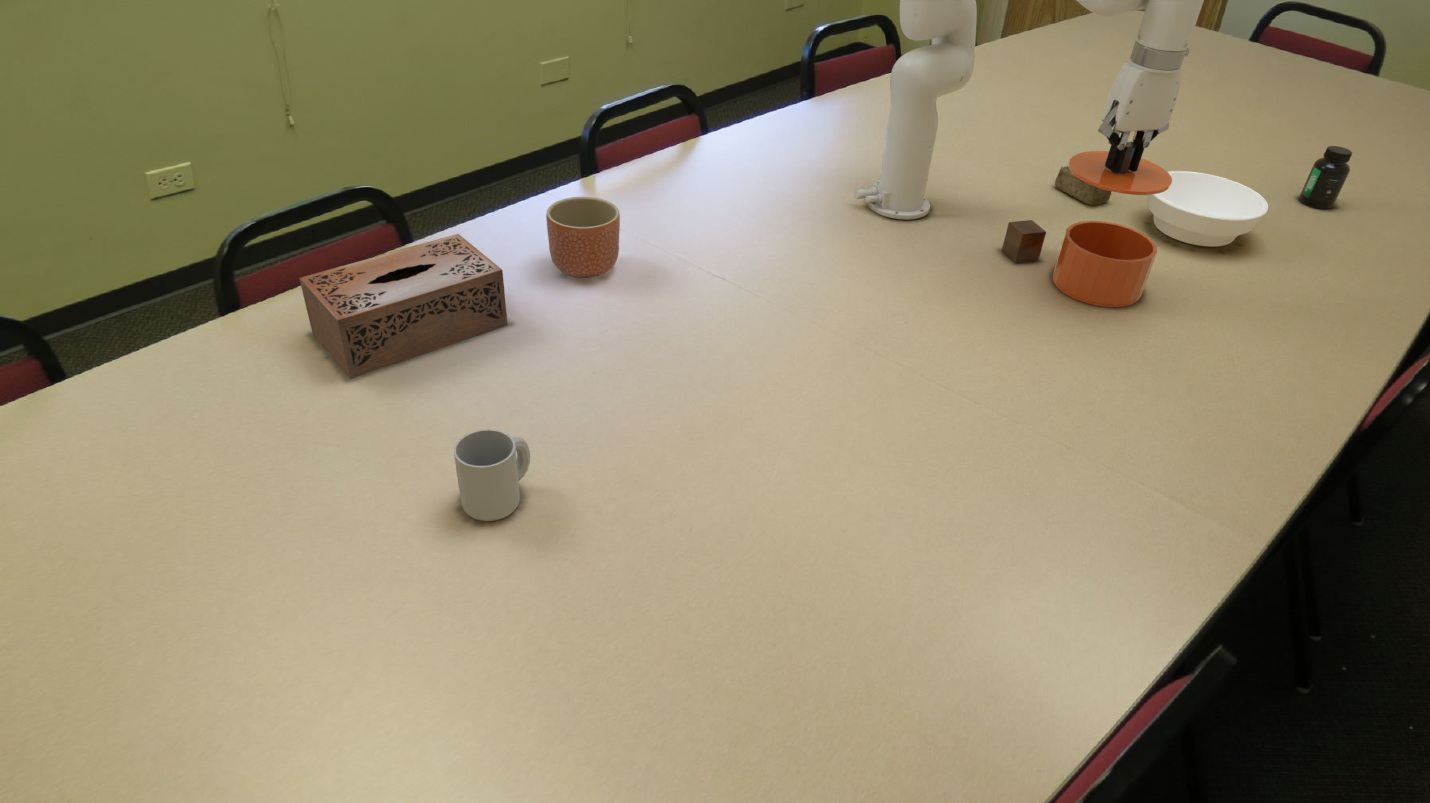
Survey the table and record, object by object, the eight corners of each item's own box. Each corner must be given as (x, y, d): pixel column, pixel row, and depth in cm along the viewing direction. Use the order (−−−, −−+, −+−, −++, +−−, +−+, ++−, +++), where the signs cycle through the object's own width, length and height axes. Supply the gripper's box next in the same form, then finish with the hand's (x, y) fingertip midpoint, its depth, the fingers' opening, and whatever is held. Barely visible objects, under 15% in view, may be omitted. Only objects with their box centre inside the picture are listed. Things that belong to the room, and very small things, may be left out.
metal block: (1015, 263, 178) (1022, 234, 175) (1001, 250, 182) (1008, 222, 179) (1038, 260, 180) (1046, 231, 176) (1024, 248, 184) (1032, 219, 180)
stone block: (1090, 208, 200) (1096, 186, 197) (1050, 187, 208) (1056, 165, 205) (1109, 204, 202) (1116, 181, 199) (1070, 183, 210) (1076, 161, 207)
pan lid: (1106, 202, 151) (1117, 168, 147) (1048, 161, 163) (1057, 128, 160) (1191, 194, 155) (1203, 161, 152) (1128, 154, 168) (1138, 123, 164)
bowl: (1246, 220, 199) (1262, 182, 194) (1258, 268, 182) (1275, 228, 177) (1133, 200, 204) (1146, 163, 199) (1134, 245, 187) (1148, 205, 182)
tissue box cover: (350, 378, 139) (337, 320, 133) (312, 334, 148) (299, 277, 142) (507, 325, 153) (502, 269, 147) (464, 287, 161) (458, 233, 155)
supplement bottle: (1299, 205, 206) (1323, 152, 199) (1297, 193, 212) (1320, 141, 204) (1334, 212, 205) (1360, 158, 197) (1331, 200, 210) (1355, 147, 203)
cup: (449, 503, 119) (441, 448, 114) (512, 465, 126) (507, 411, 120) (486, 531, 116) (479, 476, 110) (549, 491, 122) (545, 437, 117)
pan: (1084, 311, 165) (1099, 265, 160) (1036, 268, 177) (1048, 224, 172) (1158, 302, 169) (1176, 257, 164) (1107, 261, 181) (1121, 217, 176)
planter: (632, 262, 171) (632, 206, 165) (597, 293, 162) (595, 234, 155) (573, 246, 175) (571, 190, 169) (535, 274, 166) (531, 217, 159)
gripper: (1184, 47, 152) (1146, 157, 163) (1098, 51, 148) (1065, 163, 159) (1216, 62, 147) (1175, 174, 158) (1128, 66, 142) (1092, 182, 153)
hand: (1120, 168), depth 158 cm, fingers closed on pan lid, 2 cm apart
